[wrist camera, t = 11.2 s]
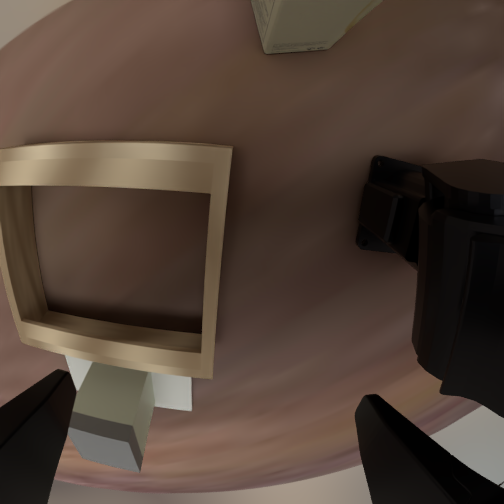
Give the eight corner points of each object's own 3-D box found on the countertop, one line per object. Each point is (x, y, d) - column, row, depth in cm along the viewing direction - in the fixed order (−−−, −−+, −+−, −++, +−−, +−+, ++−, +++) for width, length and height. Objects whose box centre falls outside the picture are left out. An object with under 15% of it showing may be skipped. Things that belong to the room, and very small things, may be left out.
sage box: (150, 364, 23) (128, 442, 15) (155, 401, 25) (140, 472, 17) (96, 355, 22) (62, 424, 15) (106, 392, 24) (82, 458, 17)
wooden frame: (233, 146, 17) (232, 148, 14) (215, 343, 23) (212, 379, 19) (23, 144, 16) (-11, 150, 12) (43, 316, 21) (21, 342, 18)
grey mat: (191, 359, 23) (191, 364, 23) (192, 406, 26) (191, 411, 25) (63, 338, 22) (60, 342, 22) (78, 386, 25) (76, 389, 24)
